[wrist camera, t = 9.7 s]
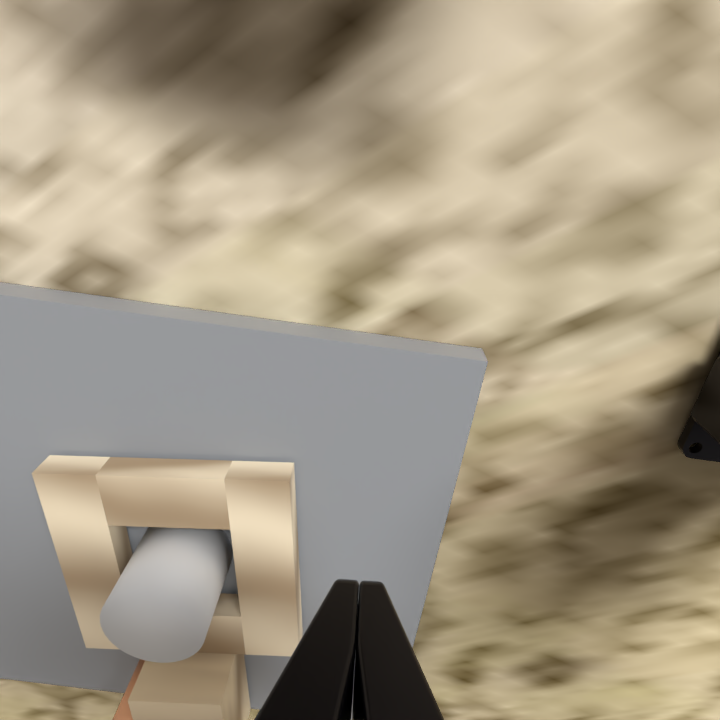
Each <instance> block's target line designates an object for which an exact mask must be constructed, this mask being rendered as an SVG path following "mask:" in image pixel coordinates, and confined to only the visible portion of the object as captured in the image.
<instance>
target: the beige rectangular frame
mask: <svg viewBox="0 0 720 720" xmlns="http://www.w3.org/2000/svg"><path fill="white" fill-rule="evenodd" d="M32 476H33V479H34V482H35V486H36V489H37V492H38V495H39V499H40V502H41V505H42V508H43V511H44V515H45V518H46V521H47V524H48V527H49V531H50V534H51V537H52V540H53V543H54V547H55V550H56V553H57V556H58V559H59V563H60V566H61V569H62V572H63V576H64V579H65V582H66V585H67V588H68V592H69V595H70V598H71V601H72V604H73V608H74V611H75V614H76V617H77V620H78V624H79V627H80V630H81V633H82V636H83V640H84V643H85V646H86V648H97V649H119V648H117V647H116V646H115V645H114V644H113V643H112V642H111V641H110V640H109V639H108V638H107V637H106V635H105V634H104V632H103V630H102V627H101V624H100V613H101V610H102V607H103V606H104V604H105V602H106V600H107V599H108V597H109V595H110V593H111V592H112V590H113V588H114V586H115V585H116V583H117V581H118V579H119V578H120V576H121V574H122V572H123V571H124V569H125V567H126V565H127V564H128V562H129V560H130V558H131V557H132V555H133V554H132V550H131V545H130V541H129V537H128V532H127V528H126V526H136V527H165V528H194V529H223V530H230V531H231V539H232V547H233V556H234V564H235V572H236V580H237V588H238V594H226V593H221V594H220V597H219V600H218V602H217V605H216V608H215V611H214V614H213V617H212V620H211V623H210V626H209V629H208V632H207V635H206V638H205V641H204V643H203V645H202V647H201V648H200V650H199V651H198V652H197V653H195V654H194V655H192V656H191V657H189V658H187V659H184V660H181V661H177V662H169V663H159V662H151V661H146V660H145V662H144V665H143V667H142V669H141V671H140V674H139V676H138V678H137V681H136V683H135V685H134V687H133V690H132V692H131V694H130V697H129V699H128V704H129V708H130V711H131V715H132V718H133V720H248V719H249V714H250V710H251V707H250V699H249V691H248V682H247V674H246V666H245V658H244V655H267V656H292V654H293V652H294V650H295V649H296V647H297V645H298V644H299V642H300V640H301V638H302V636H303V627H302V607H301V588H300V568H299V548H298V529H297V509H296V490H295V470H294V463H292V462H259V461H227V460H194V459H162V458H129V457H96V456H64V455H49V456H48V457H47V458H46V459H45V460H44V461H43V462H42V463H41V464H40V465H39V466H38V467H37V468H36V469H35V470H34V471H33V472H32Z"/></svg>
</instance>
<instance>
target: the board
mask: <svg viewBox="0 0 720 720" xmlns="http://www.w3.org/2000/svg"><path fill="white" fill-rule="evenodd" d="M487 363H488V361H487V359H486V356H485V354H484V352H483V350H482V348H474V347H467V346H460V345H453V344H445V343H438V342H431V341H424V340H416V339H409V338H402V337H395V336H387V335H380V334H373V333H366V332H358V331H351V330H344V329H337V328H329V327H322V326H315V325H307V324H300V323H293V322H286V321H278V320H271V319H264V318H257V317H249V316H242V315H235V314H228V313H220V312H213V311H206V310H199V309H191V308H184V307H177V306H170V305H162V304H155V303H148V302H141V301H133V300H126V299H119V298H111V297H104V296H97V295H90V294H82V293H75V292H68V291H61V290H53V289H46V288H39V287H32V286H24V285H17V284H10V283H3V282H0V678H2V679H10V680H18V681H27V682H35V683H43V684H52V685H60V686H68V687H77V688H85V689H93V690H102V691H110V692H118V693H125V691H126V689H127V686H128V684H129V682H130V680H131V678H132V675H133V673H134V671H135V669H136V666H137V664H138V662H139V660H140V659H142V660H146V661H151V662H159V663H169V662H177V661H181V660H184V659H187V658H189V657H191V656H192V655H194V654H195V653H197V652H198V651H199V650H200V648H201V647H202V645H203V643H204V641H205V638H206V635H207V632H208V629H209V626H210V623H211V620H212V617H213V614H214V611H215V608H216V605H217V602H218V600H219V597H220V594H221V593H226V594H238V588H237V580H236V572H235V564H234V556H233V547H232V539H231V531H230V530H223V529H194V528H165V527H136V526H126V528H127V532H128V537H129V541H130V545H131V550H132V554H133V555H132V557H131V558H130V560H129V562H128V564H127V565H126V567H125V569H124V571H123V572H122V574H121V576H120V578H119V579H118V581H117V583H116V585H115V586H114V588H113V590H112V592H111V593H110V595H109V597H108V599H107V600H106V602H105V604H104V606H103V607H102V610H101V613H100V624H101V627H102V630H103V632H104V634H105V635H106V637H107V638H108V639H109V640H110V641H111V642H112V643H113V644H114V645H115V646H116V647H117V648H119V649H97V648H86V646H85V643H84V640H83V636H82V633H81V630H80V627H79V624H78V620H77V617H76V614H75V611H74V608H73V604H72V601H71V598H70V595H69V592H68V588H67V585H66V582H65V579H64V576H63V572H62V569H61V566H60V563H59V559H58V556H57V553H56V550H55V547H54V543H53V540H52V537H51V534H50V531H49V527H48V524H47V521H46V518H45V515H44V511H43V508H42V505H41V502H40V499H39V495H38V492H37V489H36V486H35V482H34V479H33V476H32V472H33V471H34V470H35V469H36V468H37V467H38V466H39V465H40V464H41V463H42V462H43V461H44V460H45V459H46V458H47V457H48V456H49V455H64V456H96V457H129V458H162V459H194V460H227V461H259V462H292V463H294V470H295V490H296V509H297V529H298V548H299V568H300V588H301V607H302V627H303V635H304V633H305V631H306V630H307V628H308V626H309V625H310V623H311V621H312V619H313V618H314V616H315V614H316V612H317V611H318V609H319V607H320V606H321V604H322V602H323V600H324V599H325V597H326V595H327V593H328V592H329V590H330V588H331V587H332V585H333V583H334V582H335V581H336V580H337V579H350V580H357V581H358V583H359V584H360V582H361V581H364V580H365V581H379V582H382V583H383V584H384V586H385V588H386V590H387V592H388V594H389V597H390V599H391V601H392V603H393V606H394V608H395V610H396V612H397V615H398V617H399V619H400V621H401V624H402V626H403V628H404V630H405V633H406V635H407V637H408V639H409V642H410V644H411V646H412V648H413V644H414V640H415V637H416V633H417V629H418V625H419V621H420V618H421V614H422V610H423V606H424V602H425V599H426V595H427V591H428V587H429V583H430V580H431V576H432V572H433V568H434V564H435V561H436V557H437V553H438V549H439V545H440V542H441V538H442V534H443V530H444V526H445V523H446V519H447V515H448V511H449V507H450V504H451V500H452V496H453V492H454V488H455V485H456V481H457V477H458V473H459V469H460V466H461V462H462V458H463V454H464V450H465V447H466V443H467V439H468V435H469V431H470V427H471V424H472V420H473V416H474V412H475V408H476V405H477V401H478V397H479V393H480V389H481V386H482V382H483V378H484V374H485V370H486V367H487ZM358 599H359V596H358ZM302 637H303V636H302ZM290 657H291V656H267V655H244V658H245V666H246V674H247V682H248V691H249V699H250V707H251V708H252V709H261V707H262V706H263V704H264V702H265V700H266V699H267V697H268V695H269V694H270V692H271V690H272V688H273V687H274V685H275V683H276V681H277V680H278V678H279V676H280V675H281V673H282V671H283V669H284V668H285V666H286V664H287V663H288V661H289V659H290ZM354 670H355V668H354ZM353 688H354V684H353ZM352 708H353V700H352ZM351 720H352V713H351Z"/></svg>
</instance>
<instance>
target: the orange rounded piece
mask: <svg viewBox="0 0 720 720" xmlns="http://www.w3.org/2000/svg"><path fill="white" fill-rule="evenodd" d="M144 662H145V660H142V659H140V660H139V662H138V664H137V666H136V669H135V671H134V673H133V675H132V678H131V680H130V682H129V684H128V686H127V689H126V691H125V693H124V695H123V698H122V700H121V702H120V704H119V707H118V709H117V711H116V713H115V715H114V718H113V720H133V718H132V715H131V711H130V708H129V704H128V699H129V697H130V694H131V692H132V690H133V687H134V685H135V683H136V681H137V678H138V676H139V674H140V671H141V669H142V667H143V665H144Z"/></svg>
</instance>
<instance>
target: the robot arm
mask: <svg viewBox="0 0 720 720" xmlns="http://www.w3.org/2000/svg"><path fill="white" fill-rule="evenodd" d="M694 443H696V444H695V446H693V447H690V446H691V445H692V444H694ZM677 445H678V448H679V449H680V451H681V452H682V453H683V454H684V455H685V456H686V457H689V458H694V459H701V460H708V461H716V462H720V353H719V355H718V357H717V359H716V360H715V362H714V365H713V367H712V369H711V371H710V373H709V375H708V377H707V380H706V382H705V384H704V386H703V388H702V390H701V392H700V395H699V397H698V399H697V401H696V403H695V405H694V407H693V409H692V412H691V415H690V417H689V419H688V421H687V423H686V425H685V428H684V430H683V432H682V434H681V436H680V438H679V440H678V444H677ZM358 596H359V599H358ZM354 668H355V670H354ZM353 684H354V688H353ZM352 700H353V708H352ZM351 713H352V720H444V718H443V716H442V714H441V712H440V709H439V707H438V705H437V703H436V700H435V698H434V696H433V694H432V691H431V689H430V687H429V685H428V682H427V680H426V678H425V676H424V673H423V671H422V669H421V667H420V664H419V662H418V660H417V658H416V655H415V653H414V651H413V648H412V646H411V644H410V642H409V639H408V637H407V635H406V633H405V630H404V628H403V626H402V624H401V621H400V619H399V617H398V615H397V612H396V610H395V608H394V606H393V603H392V601H391V599H390V597H389V594H388V592H387V590H386V588H385V586H384V584H383V583H382V582H379V581H365V580H364V581H361V582H360V584H359V583H358V581H357V580H350V579H337V580H336V581H335V582H334V583H333V585H332V587H331V588H330V590H329V592H328V593H327V595H326V597H325V599H324V600H323V602H322V604H321V606H320V607H319V609H318V611H317V612H316V614H315V616H314V618H313V619H312V621H311V623H310V625H309V626H308V628H307V630H306V631H305V633H304V635H303V637H302V638H301V640H300V642H299V644H298V645H297V647H296V649H295V650H294V652H293V654H292V656H291V657H290V659H289V661H288V663H287V664H286V666H285V668H284V669H283V671H282V673H281V675H280V676H279V678H278V680H277V681H276V683H275V685H274V687H273V688H272V690H271V692H270V694H269V695H268V697H267V699H266V700H265V702H264V704H263V706H262V707H261V709H260V711H259V713H258V714H257V716H256V718H255V719H254V720H351Z"/></svg>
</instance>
